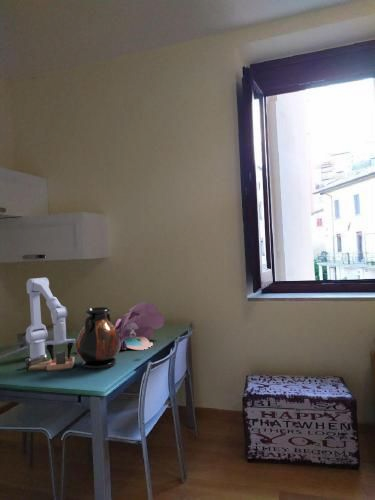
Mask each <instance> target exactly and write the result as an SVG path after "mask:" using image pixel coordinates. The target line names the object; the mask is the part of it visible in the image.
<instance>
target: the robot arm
mask: <svg viewBox="0 0 375 500" xmlns="http://www.w3.org/2000/svg"><path fill="white" fill-rule="evenodd" d="M26 293H27V294H28V295H29V310H30V321H31V322H30V323H31V324H29V326H28V327H27V328H26V329H25V340H26V342H27V343H28V344H29V358H31V359H33V358H36V357H39V356H40V355H47V353H46V350H47V351H48V353H49V355H50V359H52V360H54V359H55V355H54V354H55V353H54V346H57V345H58V346H59V345H67V346H66V347H67V357H68V359H69V358H70V357H71V352H72V349H73V346H74V344H77V340H76V338H67V328H66V327H67V325H66V319H67V317H68V309H67V307H66V306H64V305H62V304H61V302H60V301H59V300H58V298H57V297H56V296H54V295H53V294H52V291H51V289H50V280H49V278H47V277H46V276H45V277H37V278H28V280H27V281H26ZM40 295H42V296H43V297H44V298H45V300H46V302H45V304H46V306H47V308H48V309H49V310H50V318H51V321H52V322H51V323H52V324H53V339H52V340H47V338H48V330H47V327H46V325H45V324H43V323H42V314H41V313H42V312H41V298H40V297H41V296H40ZM46 340H47V341H46ZM47 356H48V355H47Z"/></svg>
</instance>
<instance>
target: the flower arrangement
mask: <svg viewBox="0 0 375 500" xmlns="http://www.w3.org/2000/svg"><path fill="white" fill-rule="evenodd" d="M128 311H129V312H128V313H125V314H124V315H123V316H122V318H118V319H117V321H116V323H115V328H116V329H117V331H118V333H119V336H120V340H121V347H120V350H124V351H125V350H127V349H131V350H136V351H143V350H144V349H145V350H147V349H149V348H148V347H150V348H151V346H152V347H153V345H154V344H153V342H150V339H151V338H152V337H153V336H154V330H159V329H160V328H162V327H163V326H164V324H165V318H164V315H163V314H162V313H161V312H160V311H159V310H158V308H157V305H155V304H154V303H151V302H147V303H146V302H144V301H142V302H139V303H137V304H136V305H134V306H133V307H131V308H129V309H128Z"/></svg>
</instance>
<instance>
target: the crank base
mask: <svg viewBox="0 0 375 500" xmlns="http://www.w3.org/2000/svg"><path fill="white" fill-rule="evenodd" d="M49 361H50V359H47V361H44V362H39V363H36V364H33V365H31V366H28V368H27V371H29V372H30V371H39V370H47V369H46V366H47V364H48V363H49Z"/></svg>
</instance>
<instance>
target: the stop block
mask: <svg viewBox="0 0 375 500" xmlns="http://www.w3.org/2000/svg"><path fill="white" fill-rule="evenodd" d="M55 359H56V365H57V364H66V350H65V351H57V352H56V353H55Z"/></svg>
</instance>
